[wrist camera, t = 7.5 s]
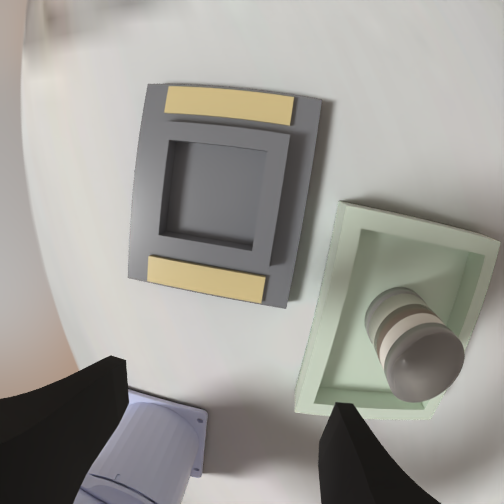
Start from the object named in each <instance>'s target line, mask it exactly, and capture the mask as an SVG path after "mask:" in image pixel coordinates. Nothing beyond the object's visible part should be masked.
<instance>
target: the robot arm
mask: <svg viewBox="0 0 504 504" xmlns="http://www.w3.org/2000/svg"><path fill="white" fill-rule="evenodd" d="M207 418H208V414H207V412H206V411H205V410H202V409H198V408H194V407H190V406H186V405H182V404H178V403H174V402H170V401H167V400H163V399H159V398H156V397H152V396H149V395H146V394H142V393H139V392H136V391H132V390H129V389H128V383H127V369H126V360H124V359H121V358H117V357H114V356H109V357H106V358H104V359H102V360H100V361H98V362H96V363H94V364H92V365H90V366H88V367H86V368H84V369H82V370H80V371H78V372H76V373H74V374H72V375H70V376H68V377H66V378H64V379H61V380H59V381H56V382H54V383H52V384H49V385H47V386H44V387H42V388H39V389H36V390H33V391H31V392H28V393H24V394H20V395H17V396H13V397H8V398H3V399H0V504H181V502H182V499H183V496H184V493H185V490H186V487H187V484H188V481H189V478H190V476H192V477H196V478H200V477H201V476H202V471H203V460H204V449H205V438H206V428H207ZM200 419H202V420H200ZM318 468H319V480H320V492H321V503H322V504H441V503H440V502H438V501H437V500H436V499H434V498H433V497H432V496H430V495H429V494H428V493H427V492H425V491H424V490H423V489H422V488H421V487H420V486H418V485H417V484H416V483H415V482H414V481H413V480H412V479H411V478H410V477H409V476H408V475H407V474H406V473H405V472H404V471H403V470H402V469H401V468H400V467H399V465H398V464H397V463H396V462H395V461H394V460H393V458H392V457H391V456H390V455H389V454H388V452H387V451H386V450H385V449H384V447H383V446H382V445H381V443H380V442H379V441H378V439H377V438H376V437H375V435H374V434H373V432H372V431H371V429H370V428H369V426H368V425H367V424H366V422H365V421H364V419H363V418H362V416H361V415H360V413H359V412H358V410H357V409H356V407H355V406H354V404H353V403H342V402H335V405H334V407H333V410H332V412H331V415H330V417H329V420H328V422H327V425H326V427H325V430H324V432H323V434H322V437H321V439H320V441H319V462H318Z"/></svg>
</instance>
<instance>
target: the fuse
mask: <svg viewBox="0 0 504 504" xmlns="http://www.w3.org/2000/svg"><path fill="white" fill-rule="evenodd" d="M364 322H365V329H366V332H367V334H368V337H369V339H370V341H371V343H372V344H373V346H374V348H375V351H376V354H377V356H378V359H379V361H380V363H381V365H382V367H383V370H384V373H385V377H386V379H387V382H388V384H389V387H390V389H391V391H392V393H393V394H394V395H395V396H396V397H397V398H398V399H400V400H402V401H405V402H411V403H417V402H423V401H426V400H429V399H432V398H434V397H436V396H438V395H439V394H441V393H442V392H444V391H445V390H446V389H447V388H448V387H449V386H450V385H451V384H452V383H453V382H454V381H455V379H456V378H457V376H458V375H459V373H460V371H461V369H462V366H463V363H464V348H463V345H462V343H461V341H460V340H459V339H458V337H457V336H456V335H455V334H454V333H453V332H452V331H451V330H450V329H449V328H448V327H447V326H446V325H445V324H444V323H443V322H442V320H441V319H440V318H439V317H438V316H437V315H436V314H435V313H434V312H433V311H432V310H431V309H430V308H429V307H428V306H427V304H426V303H425V301H424V300H423V299H422V298H421V297H420V296H419V295H418V294H417V293H416V292H415V291H413V290H411V289H409V288H406V287H394V288H390V289H388V290H385V291H384V292H382V293H380V294H379V295H378V296H377V297H376V298H374V300H373V301H372V302H371V304H370V305H369V307H368V309H367V311H366V314H365V320H364Z"/></svg>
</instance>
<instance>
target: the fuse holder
mask: <svg viewBox="0 0 504 504" xmlns="http://www.w3.org/2000/svg"><path fill="white" fill-rule="evenodd" d="M321 103H322V100H321V99H315V98H309V97H304V96H297V95H291V94H284V93H277V92H270V91H262V90H253V89H244V88H233V87H221V86H206V85H185V84H148V86H147V92H146V97H145V103H144V109H143V115H142V121H141V128H140V134H139V141H138V149H137V157H136V165H135V174H134V184H133V194H132V206H131V220H130V236H129V257H128V278H131V279H135V280H140V281H144V282H149V283H153V284H158V285H163V286H167V287H172V288H177V289H182V290H187V291H192V292H197V293H202V294H207V295H212V296H217V297H223V298H228V299H233V300H239V301H244V302H250V303H255V304H261V305H267V306H273V307H278V308H284V309H286V307H287V302H288V297H289V292H290V287H291V282H292V277H293V272H294V267H295V262H296V256H297V251H298V246H299V240H300V235H301V229H302V224H303V218H304V212H305V206H306V201H307V195H308V189H309V183H310V177H311V170H312V164H313V158H314V151H315V145H316V138H317V131H318V124H319V117H320V110H321Z"/></svg>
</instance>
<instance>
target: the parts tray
mask: <svg viewBox="0 0 504 504" xmlns="http://www.w3.org/2000/svg"><path fill="white" fill-rule="evenodd" d="M500 243H501V242H500V241H497V240H495V239H492V238H490V237H487V236H485V235H483V234H480V233H476V232H472V231H469V230H465V229H461V228H457V227H453V226H449V225H445V224H441V223H437V222H433V221H429V220H425V219H421V218H417V217H412V216H408V215H404V214H399V213H395V212H390V211H386V210H381V209H376V208H372V207H367V206H362V205H357V204H352V203H347V202H342V201H339V202H338V207H337V213H336V218H335V223H334V228H333V234H332V239H331V244H330V248H329V253H328V258H327V263H326V267H325V272H324V277H323V281H322V285H321V290H320V294H319V298H318V303H317V307H316V311H315V315H314V319H313V323H312V327H311V331H310V335H309V339H308V343H307V347H306V351H305V355H304V358H303V362H302V366H301V369H300V373H299V377H298V380H297V384H296V387H295V413H302V414H311V415H321V416H330V415H331V412H332V410H333V407H334V405H335V402H342V403H353V404H354V406H355V407H356V409H357V410H358V412H359V413H360V415H361V416H362V418H363V419H379V420H430V419H431V417H432V416H433V414H434V412H435V410H436V409H437V407H438V405H439V403H440V401H441V399H442V397H443V395H444V394H445V392H446V390H447V389H446V390H445V391H444V392H442V393H441V394H439V395H438V396H436V397H434V398H432V399H429V400H426V401H423V402H417V403H411V402H405V401H402V400H400V399H398V398H397V397H396V396H395V395H394V394H393V393H392V391H391V389H390V387H389V384H388V382H387V379H386V377H385V373H384V370H383V367H382V365H381V363H380V361H379V359H378V356H377V354H376V351H375V348H374V346H373V344H372V343H371V341H370V339H369V337H368V334H367V332H366V329H365V322H364V320H365V314H366V311H367V309H368V307H369V305H370V304H371V302H372V301H373V300H374V298H376V297H377V296H378V295H379V294H380V293H382V292H384V291H385V290H388V289H390V288H394V287H406V288H409V289H411V290H413V291H415V292H416V293H417V294H418V295H419V296H420V297H421V298H422V299H423V300H424V301H425V303H426V304H427V306H428V307H429V308H430V309H431V310H432V311H433V312H434V313H435V314H436V315H437V316H438V317H439V318H440V319H441V320H442V322H443V323H444V324H445V325H446V326H447V327H448V328H449V329H450V330H451V331H452V332H453V333H454V334H455V335H456V336H457V337H458V339H459V340H460V341H461V343H462V345H463V348H464V351H465V349H466V347H467V344H468V342H469V339H470V337H471V334H472V332H473V329H474V327H475V324H476V322H477V319H478V316H479V313H480V311H481V308H482V305H483V302H484V299H485V296H486V293H487V290H488V287H489V283H490V280H491V277H492V273H493V270H494V266H495V263H496V259H497V255H498V251H499V247H500Z"/></svg>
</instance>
